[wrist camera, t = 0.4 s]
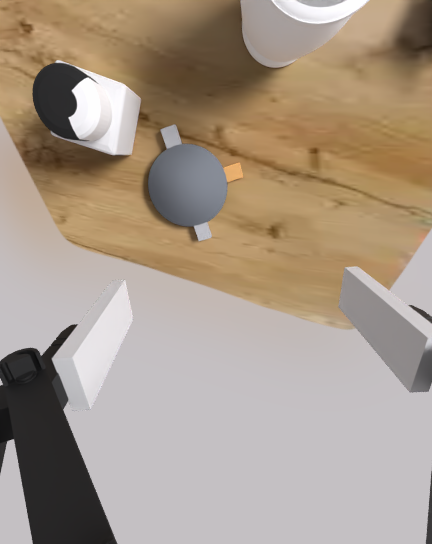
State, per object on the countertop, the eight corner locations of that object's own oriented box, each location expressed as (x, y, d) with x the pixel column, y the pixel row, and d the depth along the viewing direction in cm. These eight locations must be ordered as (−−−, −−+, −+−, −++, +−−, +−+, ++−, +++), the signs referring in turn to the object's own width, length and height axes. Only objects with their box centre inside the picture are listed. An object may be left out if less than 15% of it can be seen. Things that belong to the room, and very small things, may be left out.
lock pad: (130, 141, 36) (127, 140, 35) (225, 107, 34) (225, 106, 33) (172, 247, 42) (170, 249, 41) (254, 222, 40) (255, 224, 39)
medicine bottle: (78, 138, 36) (19, 130, 25) (85, 77, 33) (21, 37, 22) (132, 156, 37) (97, 156, 26) (142, 98, 34) (109, 69, 23)
